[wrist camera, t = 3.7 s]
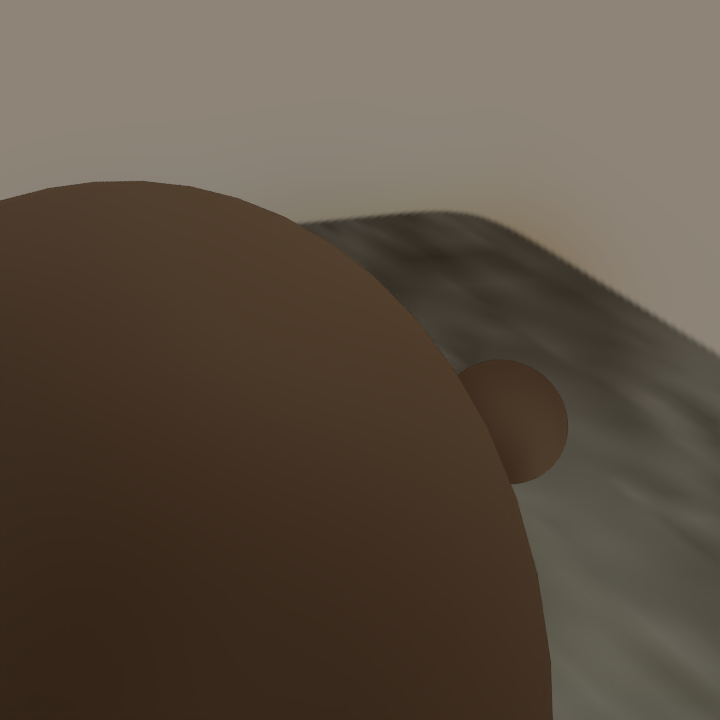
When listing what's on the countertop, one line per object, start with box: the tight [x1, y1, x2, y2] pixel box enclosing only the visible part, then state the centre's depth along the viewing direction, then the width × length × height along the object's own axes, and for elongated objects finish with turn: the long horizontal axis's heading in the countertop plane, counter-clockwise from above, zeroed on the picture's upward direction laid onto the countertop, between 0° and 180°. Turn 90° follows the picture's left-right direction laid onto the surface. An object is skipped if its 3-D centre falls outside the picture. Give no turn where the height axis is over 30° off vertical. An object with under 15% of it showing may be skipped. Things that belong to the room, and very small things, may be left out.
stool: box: [0, 181, 568, 720], centre depth 8 cm, size 6×6×12 cm
